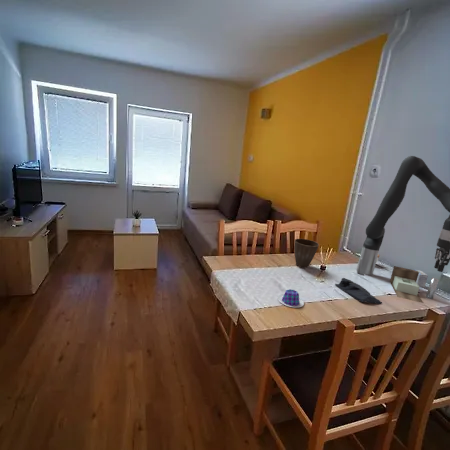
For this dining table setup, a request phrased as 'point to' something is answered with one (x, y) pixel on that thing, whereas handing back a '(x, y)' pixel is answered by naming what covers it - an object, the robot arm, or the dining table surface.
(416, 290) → the sliding block
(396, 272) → the track and wall
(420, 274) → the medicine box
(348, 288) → the dark folded cloth
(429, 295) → the steel peg
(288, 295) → the checked sun hat
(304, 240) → the plant pot
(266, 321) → the dining table surface
